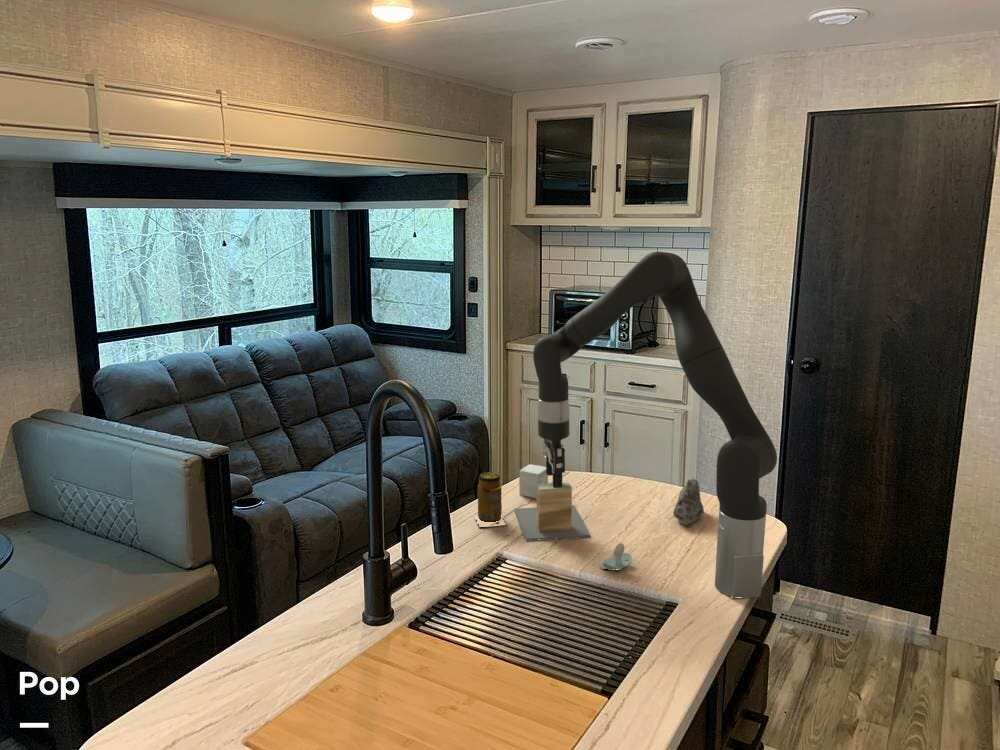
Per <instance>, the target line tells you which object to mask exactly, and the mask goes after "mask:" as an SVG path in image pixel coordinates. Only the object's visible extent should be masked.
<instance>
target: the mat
mask: <svg viewBox="0 0 1000 750" xmlns="http://www.w3.org/2000/svg"><path fill="white" fill-rule="evenodd" d="M513 511H514V514H515V517H516V519H517V522H519V523H518V526H519V525H520V526H519V528H521V529H520V531H522V532H521V535H522V536H524V537H523V539H525V540H536V541H542V540H541V539H551V540H556V539H555V538H558V539H557V540H560V539H559V538H566V539H577V538H576V537H582V538H591V534H590V532H589V530H588V528H587V527H586V525H585V523H584V521H583V519H582V517H581V515H580V514H579V512H578V510H577V508H576V506H575V505H573V504H572V517H571V530H564V531H549V532H539V530H538V528H537V506H536V507H523V508H522V507H521V508H514V509H513ZM538 539H540V540H538ZM525 540H524V541H525Z"/></svg>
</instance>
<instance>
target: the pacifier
mask: <svg viewBox="0 0 1000 750" xmlns="http://www.w3.org/2000/svg"><path fill="white" fill-rule="evenodd" d="M632 557H633V556H632V555H631V554H630V553H627V552H625V544H624V543H623V542H619V543H618V544H616V546H615V548H614V549H613V555H611V556H610V557H608V558H604V560H602V561H601V562H600V564H599V568H600V569H602V570H604V569H608V570H609V571H612V569H615V570H616V569H619V571H621V570H623V569H622V568H627V567H628V566H630V565H631V564H632V561H633V558H632ZM620 569H621V570H620ZM608 570H607V571H608Z"/></svg>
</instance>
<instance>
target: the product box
mask: <svg viewBox="0 0 1000 750" xmlns="http://www.w3.org/2000/svg"><path fill="white" fill-rule="evenodd" d="M518 477H519V480H518V481H519V482H518V483H519V485H518V487H519V489H518V490H519V491H518V493H519V496H522V497H527V498H533V499H537V484H547V483H549V476H548V475H547V474H546V466H543V465H536V464H531V463H530V464H527V465H525V466H524V467H523V468H521V469H520V470H519V476H518Z"/></svg>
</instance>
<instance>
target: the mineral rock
mask: <svg viewBox="0 0 1000 750" xmlns="http://www.w3.org/2000/svg"><path fill="white" fill-rule="evenodd" d="M672 514H673V516H674V517H675V518H676V519H677V520H678V521H679V522H680V523H681V524H683V525H689V524H693V523H695V522H696V521H697V520H699V519H700V518H701V517H702V516H703V515H704V514H705V510H704V505H703V504H702V500H701V492H700V483H699V480H698V479H697V478H693V477H692V478H691V479H689V478H688V479H687V480H686V485H684V486H683V487H682V489H681V490H680V491H679V495H678V498H677V501H676V504H675V508H673V513H672Z"/></svg>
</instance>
